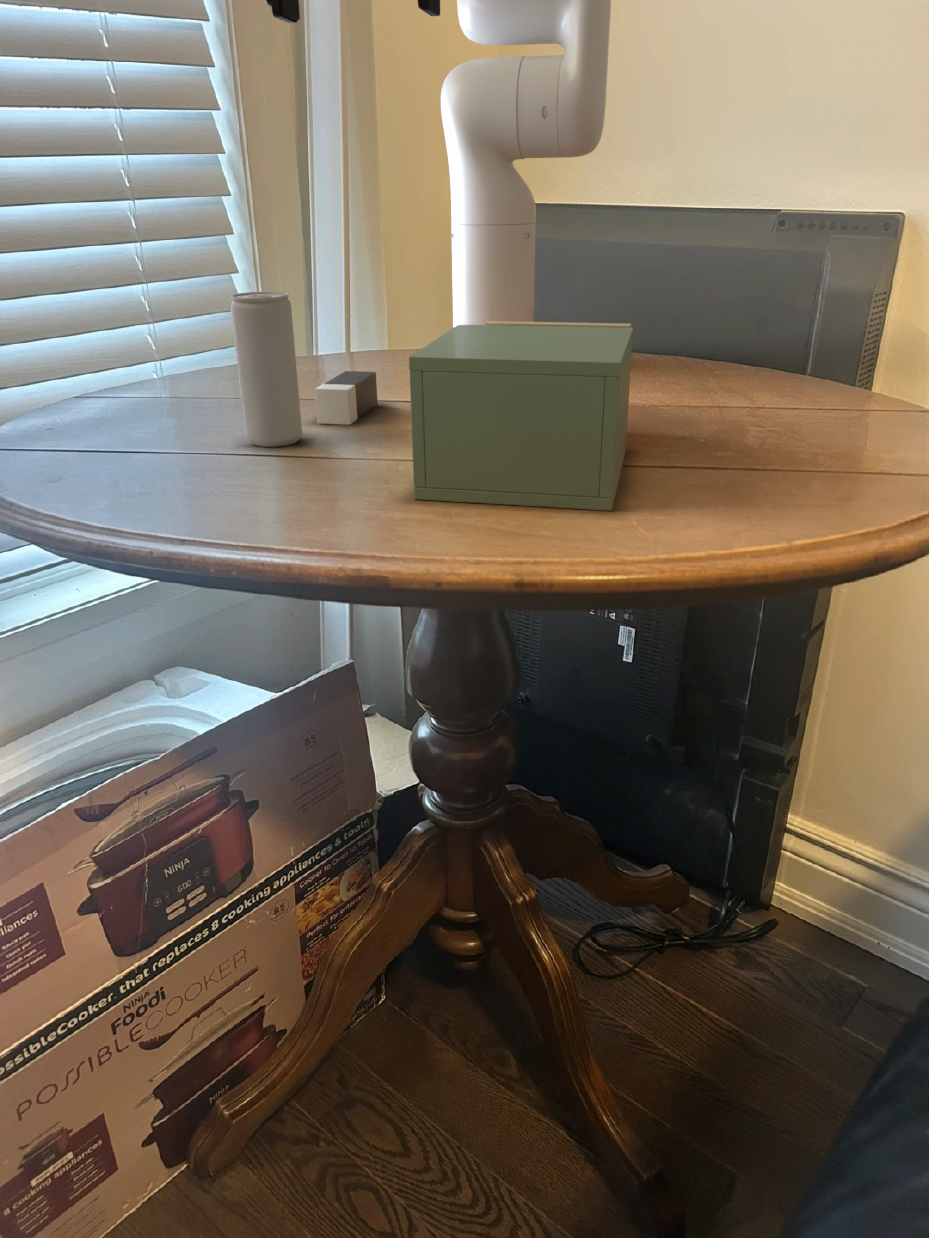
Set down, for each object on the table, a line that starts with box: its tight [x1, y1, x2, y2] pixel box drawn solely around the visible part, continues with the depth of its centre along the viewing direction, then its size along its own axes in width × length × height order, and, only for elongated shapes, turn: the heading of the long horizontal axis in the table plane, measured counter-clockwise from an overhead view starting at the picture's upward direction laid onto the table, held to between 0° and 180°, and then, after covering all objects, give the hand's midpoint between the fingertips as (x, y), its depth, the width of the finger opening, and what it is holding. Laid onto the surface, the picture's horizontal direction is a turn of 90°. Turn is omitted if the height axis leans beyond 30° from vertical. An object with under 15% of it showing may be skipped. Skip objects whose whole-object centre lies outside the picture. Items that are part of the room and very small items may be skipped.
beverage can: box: [230, 291, 303, 448], centre depth 77 cm, size 5×5×12 cm
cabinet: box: [408, 325, 634, 512], centre depth 68 cm, size 15×14×10 cm
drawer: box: [485, 321, 632, 328], centre depth 79 cm, size 18×13×8 cm
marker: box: [314, 370, 378, 426], centre depth 88 cm, size 9×3×3 cm, turn 168°
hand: (356, 16), depth 60 cm, fingers open, 9 cm apart
